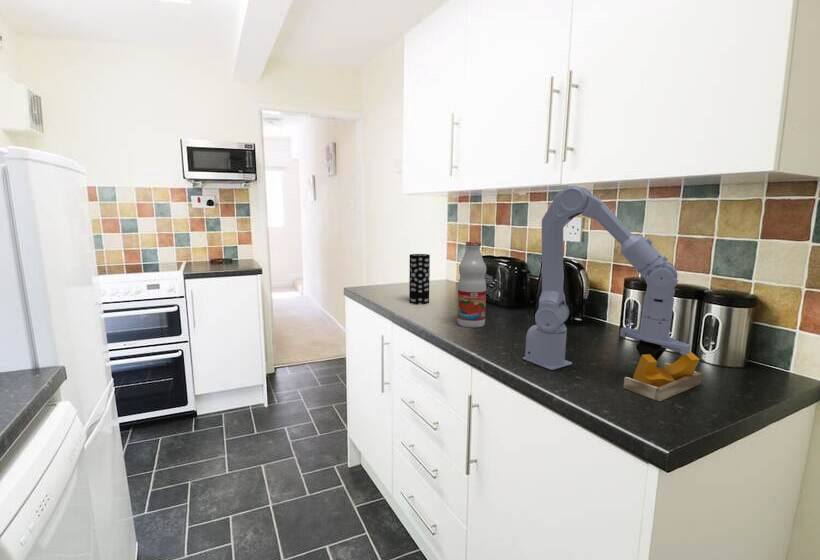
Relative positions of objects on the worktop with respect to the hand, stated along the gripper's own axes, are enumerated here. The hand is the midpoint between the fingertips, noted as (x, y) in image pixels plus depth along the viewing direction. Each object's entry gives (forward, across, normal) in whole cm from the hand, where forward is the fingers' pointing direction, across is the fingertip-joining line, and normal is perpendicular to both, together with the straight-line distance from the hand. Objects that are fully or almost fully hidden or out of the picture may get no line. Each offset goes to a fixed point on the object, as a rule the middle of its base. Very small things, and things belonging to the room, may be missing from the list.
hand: (648, 374), depth 97 cm
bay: (+2, -3, 0) cm, 4 cm away
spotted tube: (+4, +97, -2) cm, 97 cm away
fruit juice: (+3, +59, +2) cm, 59 cm away
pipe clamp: (+1, -3, -1) cm, 3 cm away
